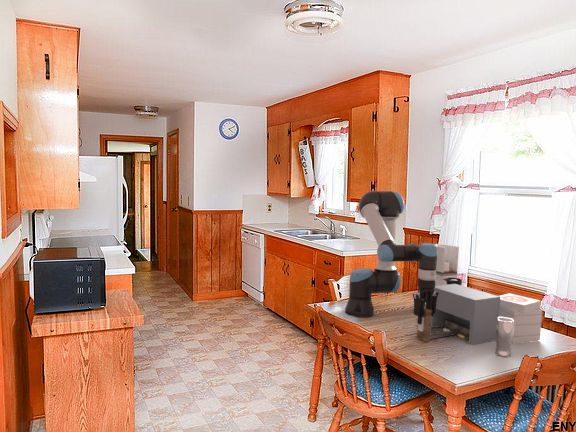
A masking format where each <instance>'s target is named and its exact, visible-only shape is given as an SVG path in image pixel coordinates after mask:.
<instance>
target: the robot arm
mask: <svg viewBox="0 0 576 432" xmlns="http://www.w3.org/2000/svg"><path fill="white" fill-rule="evenodd" d="M404 210H405V201H404V197H403V196H402V194H401V193H400V192H398V191H392V190H389V191H387V190H386V191H384V190H381V191H380V190H371V191H367V192H366V193H364V194H363V195H362V196H361V197H360V200H359V203H358V211H359V214H360V215H361V217H362V218H364V219H365V221H366V223H367V225H368V227H369V229H370V231H371V233H372V236H373V237H374V239H375V241H376V244H377V246H378V247H377V251H376V254H377V265H375V266H374V270H373V269H371V268H370V267H369V268H367V267H366V268H365V267H361V268H356V269H353V270H351V272H350V275H349V289H348V290H349V291H348V293H349V295H348V296H349V297H348V299H347V303H346V306H345V309H344V313H345V314H346V315H348V316H351V317H355V318H370V317H373V316H374V315H375V308H374V305H373V301H372V296H373V294H391V293H396V292H398V290H399V289H400V287H401V282H402V281H401V280H402V278H401V273H400V272H399V271H398V268H397V267H396V266H395V262H417V263H418V273H417V287H418V290H417V292H416V293H413V294H412V298H413V315H414V316H417V320H416V321H417V325H418V330H419V331H421V332H423V331H424V317H423V313H424V307H425V308H428V309H430V310H433V311H432V313H431V316H433V314H435V311H436V303H437V297H438V294H439V293H438V292H435V291H434V288H435V282H436V280H435V278H436V265H437V255H438V253H437V245H435V244H436V243H429V242H422V243H420V245H419V244H417V243H408V244H396V231H397V230H396V229H397V220H398V219H399V218H400V214H403V212H404Z"/></svg>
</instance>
